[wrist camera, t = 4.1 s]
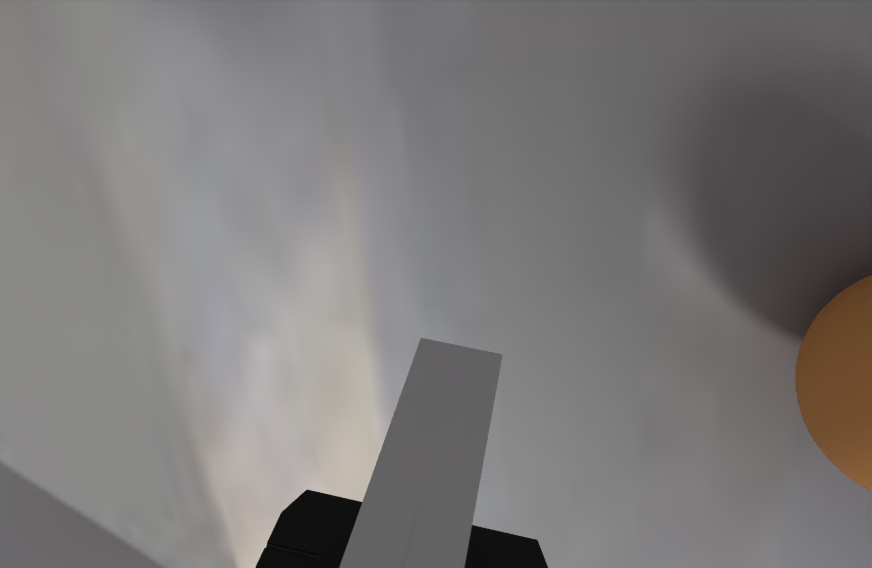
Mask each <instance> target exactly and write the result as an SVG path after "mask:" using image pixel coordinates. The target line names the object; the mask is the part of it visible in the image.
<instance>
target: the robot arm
mask: <svg viewBox="0 0 872 568" xmlns="http://www.w3.org/2000/svg"><path fill="white" fill-rule="evenodd" d="M501 360H502V354H497V353H493V352H488V351H483V350H478V349H473V348H468V347H463V346H458V345H453V344H449V343H444V342H439V341H434V340H429V339H424V338H421V339H420V342H419V345H418V348H417V351H416V353H415V356H414V359H413V362H412V365H411V367H410V370H409V373H408V376H407V379H406V381H405V384H404V387H403V390H402V393H401V395H400V398H399V401H398V404H397V407H396V410H395V412H394V415H393V418H392V421H391V424H390V426H389V429H388V432H387V435H386V438H385V440H384V443H383V446H382V449H381V452H380V455H379V457H378V460H377V463H376V466H375V469H374V471H373V474H372V477H371V480H370V483H369V485H368V488H367V491H366V494H365V497H364V500H363V502H359V501H355V500H351V499H346V498H342V497H337V496H333V495H329V494H324V493H320V492H315V491H311V490H306V491H305V492H304V493H302V494H301V495H300V496H299V497H298V498H297V499H296V500H295V501H294V502H292V503H291V504H290V505H289V506H288V507H287V508H286V509H285V510H284V511H282V512H281V515H280V517H279V519H278V521H277V523H276V525H275V527H274V529H273V531H272V534H271V536H270V538H269V540H268V542H267V546H266V548H264V550H263V553H262V555H261V557H260V559H259V561H258V563H257V565H256V568H548V566H547V564H546V561H545V558H544V556H543V553H542V551H541V548H540V545H539V543H538V540H535V539H531V538H526V537H522V536H518V535H513V534H509V533H504V532H500V531H496V530H491V529H487V528H482V527H478V526H474V525H472V522H473V517H474V511H475V505H476V500H477V494H478V489H479V483H480V478H481V472H482V466H483V461H484V455H485V450H486V444H487V439H488V433H489V427H490V422H491V416H492V411H493V405H494V400H495V394H496V388H497V383H498V377H499V372H500V366H501Z"/></svg>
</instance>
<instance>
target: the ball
mask: <svg viewBox="0 0 872 568" xmlns="http://www.w3.org/2000/svg"><path fill="white" fill-rule="evenodd" d="M796 393H797V399H798V403H799V407H800V411H801V414H802V416H803V419H804V422H805V424H806V426H807V428H808V430H809V432H810V434H811V435H812V437H813V439H814V441H815V442H816V443H817V445H818V446H819V447H820V449H821V450H822V451H823V453H824V454H825V455H826V456H827V458H828V459H829V460H830V461H831V462H832V463H833V464H834V465H836V466H837V467H838V468H839V469H840V470H841V471H842V472H843V473H844V474H845V475H846V476H848V477H849V478H851V479H852V480H853V481H855V482H856V483H858V484H859V485H861V486H862V487H864V488H866V489H867V490H869V491H871V492H872V275H870V276H868V277H865V278H863V279H861V280H859V281H858V282H856V283H854V284H852V285H850V286H849V287H847V288H846V289H844V290H843V291H841V292H840V293H839V294H838V295H836V296H835V297H834V298H833V299H831V300H830V301H829V302H828V303H827V304H826V305H825V306H824V308H823V309H822V310H821V311H820V312H819V313H818V315H817V316H816V318H815V319H814V320H813V322H812V323H811V325H810V327H809V329H808V330H807V332H806V334H805V336H804V338H803V341H802V344H801V347H800V350H799V354H798V359H797V364H796Z"/></svg>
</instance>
